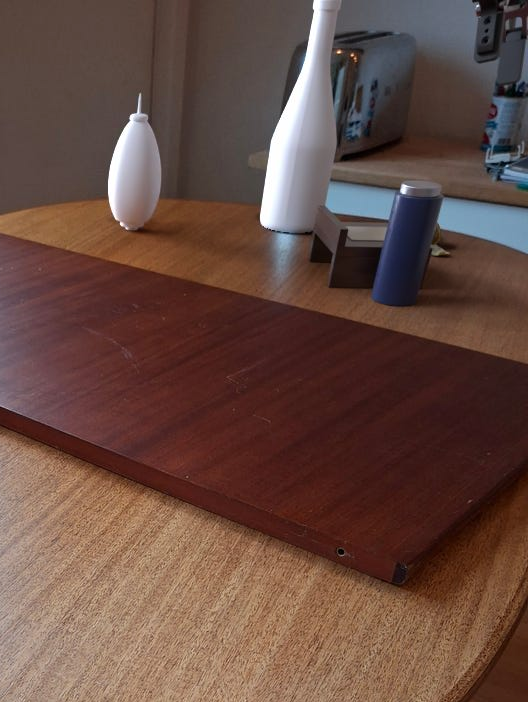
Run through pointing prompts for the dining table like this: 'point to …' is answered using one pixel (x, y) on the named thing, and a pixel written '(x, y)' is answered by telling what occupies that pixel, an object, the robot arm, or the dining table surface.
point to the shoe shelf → (349, 249)
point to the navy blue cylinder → (407, 243)
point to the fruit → (437, 242)
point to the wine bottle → (304, 136)
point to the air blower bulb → (135, 173)
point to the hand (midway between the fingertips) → (497, 72)
